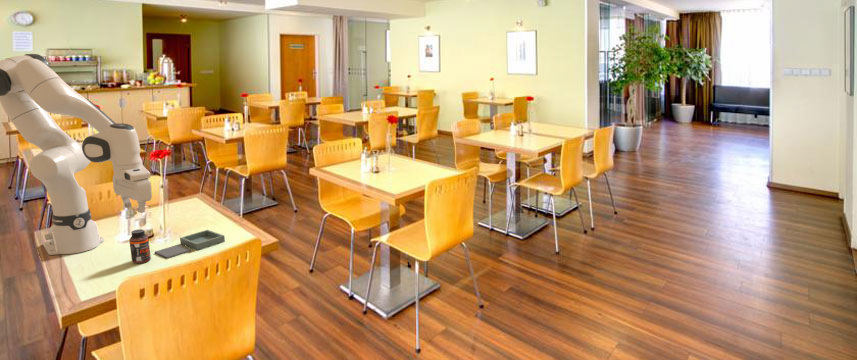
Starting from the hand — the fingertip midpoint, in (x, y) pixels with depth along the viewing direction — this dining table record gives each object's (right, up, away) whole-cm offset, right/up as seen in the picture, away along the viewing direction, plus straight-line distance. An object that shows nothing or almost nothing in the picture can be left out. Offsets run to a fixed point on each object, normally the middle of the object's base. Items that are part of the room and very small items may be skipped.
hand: (134, 209), depth 184 cm
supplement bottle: (0, -19, +5) cm, 19 cm away
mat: (+7, -16, +13) cm, 22 cm away
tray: (+14, -14, +22) cm, 30 cm away
